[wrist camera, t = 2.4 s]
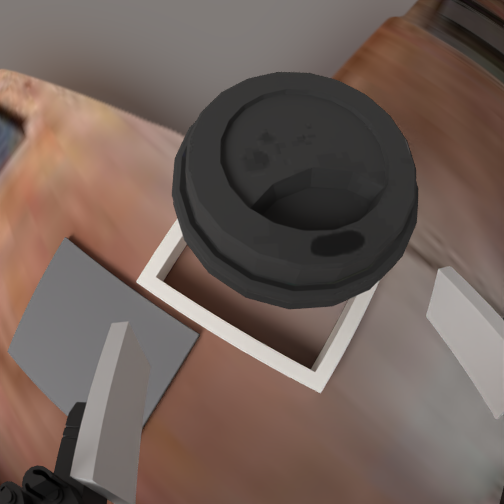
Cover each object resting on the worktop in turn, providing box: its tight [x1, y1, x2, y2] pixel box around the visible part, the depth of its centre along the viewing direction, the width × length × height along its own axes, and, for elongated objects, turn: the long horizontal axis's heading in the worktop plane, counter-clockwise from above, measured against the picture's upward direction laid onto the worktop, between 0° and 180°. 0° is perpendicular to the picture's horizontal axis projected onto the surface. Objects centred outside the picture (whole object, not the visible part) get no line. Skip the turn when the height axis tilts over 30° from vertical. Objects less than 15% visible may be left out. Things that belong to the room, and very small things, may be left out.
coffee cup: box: [172, 72, 418, 309], centre depth 18 cm, size 11×11×15 cm
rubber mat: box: [8, 237, 200, 429], centre depth 23 cm, size 16×14×1 cm
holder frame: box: [136, 219, 380, 393], centre depth 24 cm, size 16×16×2 cm
